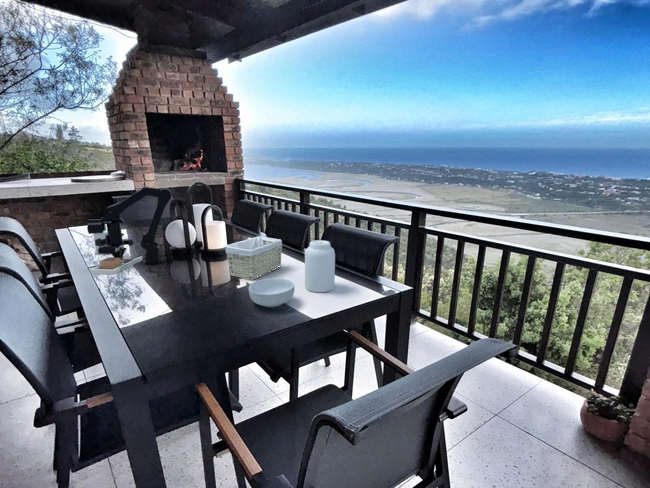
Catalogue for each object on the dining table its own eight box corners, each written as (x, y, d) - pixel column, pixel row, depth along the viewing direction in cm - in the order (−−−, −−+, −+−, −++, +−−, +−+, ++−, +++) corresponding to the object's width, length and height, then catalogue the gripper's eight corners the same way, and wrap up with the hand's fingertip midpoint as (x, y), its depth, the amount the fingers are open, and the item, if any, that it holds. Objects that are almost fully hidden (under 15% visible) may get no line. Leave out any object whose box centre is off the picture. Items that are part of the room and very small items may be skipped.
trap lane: (142, 259, 177) (142, 256, 176) (113, 274, 154) (113, 270, 153) (122, 259, 177) (122, 255, 177) (90, 273, 154) (89, 269, 154)
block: (121, 267, 164) (120, 257, 163) (113, 271, 158) (112, 261, 157) (110, 267, 164) (108, 257, 163) (101, 270, 158) (99, 260, 157)
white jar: (308, 294, 134) (308, 246, 129) (302, 283, 146) (302, 239, 141) (338, 291, 137) (339, 244, 133) (329, 281, 149) (330, 237, 144)
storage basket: (251, 282, 147) (250, 250, 143) (225, 275, 155) (223, 245, 151) (284, 268, 167) (283, 239, 164) (259, 263, 175) (258, 235, 171)
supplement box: (117, 251, 192) (114, 229, 189) (108, 254, 185) (105, 232, 182) (105, 250, 193) (102, 229, 190) (96, 254, 186) (92, 232, 183)
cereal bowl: (274, 291, 137) (273, 274, 135) (303, 301, 127) (303, 284, 125) (240, 304, 124) (239, 286, 123) (270, 317, 114) (269, 298, 112)
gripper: (111, 228, 171) (115, 257, 175) (84, 236, 153) (89, 268, 157) (132, 228, 171) (136, 257, 175) (107, 236, 153) (112, 269, 157)
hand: (118, 263), depth 166 cm, fingers closed
